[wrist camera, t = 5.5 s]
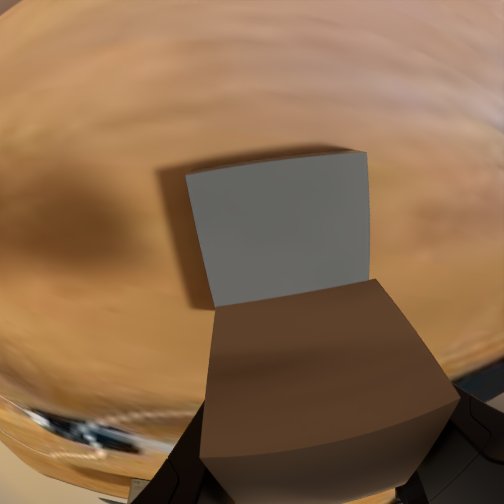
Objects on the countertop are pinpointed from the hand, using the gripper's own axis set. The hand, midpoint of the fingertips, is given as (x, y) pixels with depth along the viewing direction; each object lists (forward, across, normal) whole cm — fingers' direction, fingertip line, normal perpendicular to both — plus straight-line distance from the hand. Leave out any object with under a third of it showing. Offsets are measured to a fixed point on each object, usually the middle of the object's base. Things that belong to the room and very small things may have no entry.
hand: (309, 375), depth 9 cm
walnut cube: (+1, 0, 0) cm, 1 cm away
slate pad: (+11, -1, 0) cm, 11 cm away
